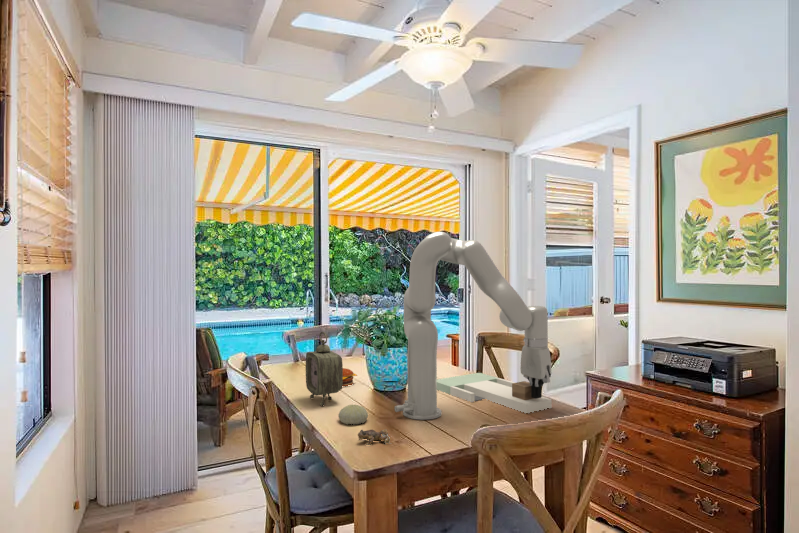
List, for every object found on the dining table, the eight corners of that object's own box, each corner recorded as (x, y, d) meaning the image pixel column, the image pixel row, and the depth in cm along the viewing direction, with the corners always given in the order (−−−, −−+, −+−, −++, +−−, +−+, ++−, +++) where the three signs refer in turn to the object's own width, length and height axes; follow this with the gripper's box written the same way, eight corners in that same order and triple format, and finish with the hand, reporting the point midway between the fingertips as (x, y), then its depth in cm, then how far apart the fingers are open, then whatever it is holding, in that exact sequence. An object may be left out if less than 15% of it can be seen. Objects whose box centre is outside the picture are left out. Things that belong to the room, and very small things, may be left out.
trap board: (512, 417, 157) (512, 407, 157) (431, 387, 194) (431, 380, 194) (564, 404, 170) (564, 396, 170) (479, 379, 207) (479, 372, 207)
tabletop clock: (305, 398, 179) (305, 330, 179) (329, 395, 184) (328, 328, 184) (319, 408, 167) (319, 335, 166) (344, 404, 171) (343, 333, 171)
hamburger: (340, 381, 206) (340, 365, 206) (358, 384, 201) (358, 368, 201) (325, 385, 198) (325, 369, 198) (343, 389, 193) (343, 372, 193)
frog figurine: (366, 453, 129) (366, 438, 129) (347, 439, 139) (347, 425, 139) (404, 445, 134) (404, 431, 134) (383, 432, 145) (383, 419, 145)
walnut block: (524, 400, 165) (524, 387, 165) (512, 396, 170) (512, 383, 170) (537, 397, 168) (537, 384, 168) (524, 393, 173) (524, 381, 173)
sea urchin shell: (342, 422, 147) (338, 398, 152) (339, 434, 152) (336, 411, 158) (371, 419, 149) (367, 396, 155) (367, 431, 155) (363, 408, 160)
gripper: (511, 341, 169) (512, 394, 169) (545, 347, 156) (546, 404, 156) (527, 339, 173) (527, 391, 173) (561, 345, 160) (562, 401, 160)
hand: (536, 397), depth 165 cm, fingers closed
